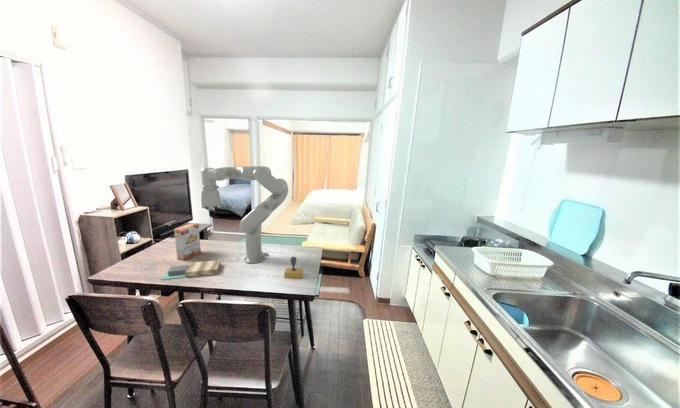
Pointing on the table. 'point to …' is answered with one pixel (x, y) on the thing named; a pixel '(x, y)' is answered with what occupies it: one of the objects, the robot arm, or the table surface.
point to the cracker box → (187, 241)
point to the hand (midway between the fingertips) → (212, 216)
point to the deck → (203, 268)
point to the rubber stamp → (293, 270)
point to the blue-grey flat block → (177, 270)
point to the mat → (172, 276)
